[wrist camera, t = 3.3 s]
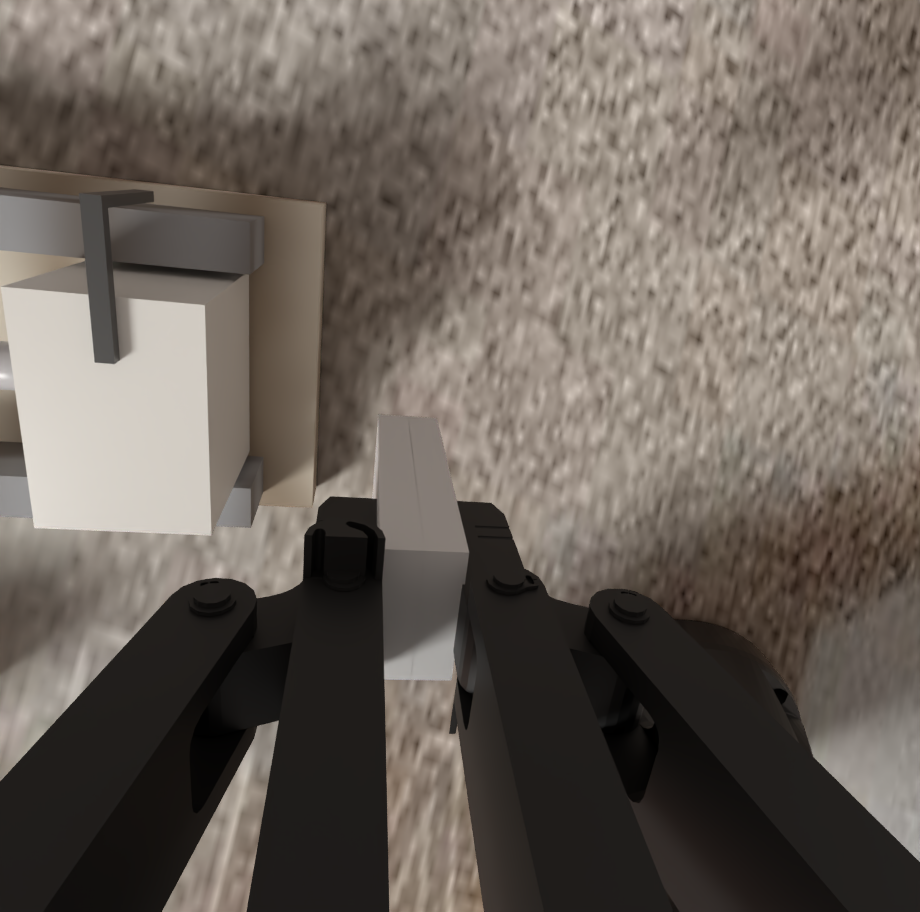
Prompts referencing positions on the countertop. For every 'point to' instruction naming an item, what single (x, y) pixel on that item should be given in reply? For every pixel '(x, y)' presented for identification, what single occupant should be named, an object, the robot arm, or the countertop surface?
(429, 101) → the countertop surface
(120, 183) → the base
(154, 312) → the gauge carriage
